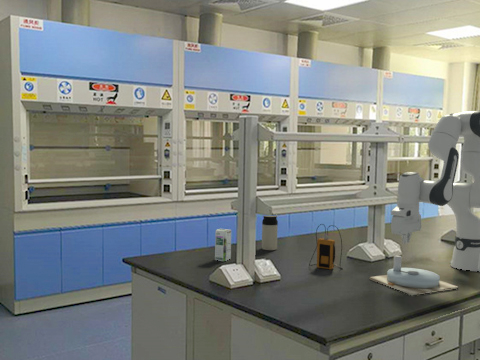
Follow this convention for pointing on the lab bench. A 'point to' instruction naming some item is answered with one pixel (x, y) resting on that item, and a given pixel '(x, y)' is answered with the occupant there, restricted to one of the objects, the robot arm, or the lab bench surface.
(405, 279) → the capstan dial
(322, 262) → the multimeter
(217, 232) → the syrup box
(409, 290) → the base plate
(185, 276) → the lab bench surface
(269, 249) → the travel mug
